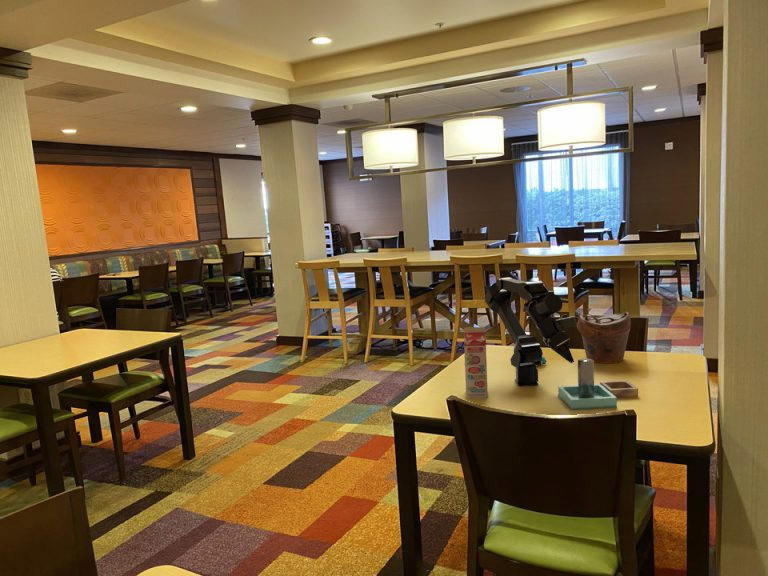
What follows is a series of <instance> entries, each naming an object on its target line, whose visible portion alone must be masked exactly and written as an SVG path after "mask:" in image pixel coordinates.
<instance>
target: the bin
mask: <svg viewBox="0 0 768 576" xmlns="http://www.w3.org/2000/svg"><path fill="white" fill-rule="evenodd" d="M557 389H558V390H557V391H558V397H559V398H560V399H561V401H563V402H564V403H565V405H566V406H568V408H570V410H571V411H577V410H578V411H579V410H580V411H581V410H596V409H612V408H613V409H615V408H617V407H618V406H617V404H618V403H617V402H618V401H617V399H618V398H617V397H615V396H614V395H613V394H612V393H610V392H609V391H608V390H607V389H606V388H604V387H603V386H602V385H601V384H600V383H598V384H597V383H594V398H578V384H577V385H561V386H557Z"/></svg>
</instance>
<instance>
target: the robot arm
mask: <svg viewBox="0 0 768 576" xmlns="http://www.w3.org/2000/svg"><path fill="white" fill-rule="evenodd" d="M514 294H518V297H519V298H521V299H522V300H524V301H526V302H525V303H523V309H522V311H523V313H526V312H527V314H528V315H529V317H530V319H531V320H532V321H533V323H534V324H535V327H536V328H537V329H538V331H539V332H540V334H541V335H542V337H543V339H542V341H543V342H544V343H545V346H547V347H548V348H550V349H551V350H552V351H554V352H555V353H556V354H557V355H559V356H560V357H562V358H563V359H565V360H566V361H567V362H569V363H570V364H573V363H574V362H575V360H574V358H573V355H572V352H571V350H570V347H569V345H570V340H571V339H570V335H569V334H568V332H567V331H564V330H565V329H569V328H575V327H576V328H577V323H578V322H577V320H576V316H574V315H571V316H569V315H568V314H565V313H564V314H561V317H560V318H558V319H556V317H555V316H553V314H557V313H558V312H560V311H561V310H562V309H563V300H561V297H559V296H558V295H557V294H555V293H554V290H549V289H548V288H547V286H546V285H545V284H544V282H543V281H542V280H537V281H523V280H519V279H515V278H512V277H501V278H498V279H496V282H495V283H494V284H493V285H491V286H490V287H488V290H487V291H486V293H485V295H484V302H485V303H486V305H487V306H488V308H489V309H490V310H491V311H493V312H494V313H496V314H498V316H499V318H500V320H501V322H502V324H503V325H504V327H505V329H506V331H507V332H508V335H509V337H510V338H511V340H512V342H513V344H514V346H513V354H512V356H511V357H510V359H509V360H510V365H511V366H513V367H514V368H515V379H514V382H515V383H516V385H517V386H518V387H524V386H528V387H529V386H539V383H538V382H539V370H538V369H537V366H541V363H542V361H541V360H542V357H543V355H544V354H543V350H542V347H541V344H540V343H539V342H538V340H537V338H536V337H535V336H528V335H527V333H526V331H525V329H524V328H523V325H522V324H521V322H520V320H519V319H518V317H517V316H516V314H515V312H514V311H513V308H512V307H511V304H512V303H511V302H512V297H513V295H514ZM531 301H532V302H531Z"/></svg>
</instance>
